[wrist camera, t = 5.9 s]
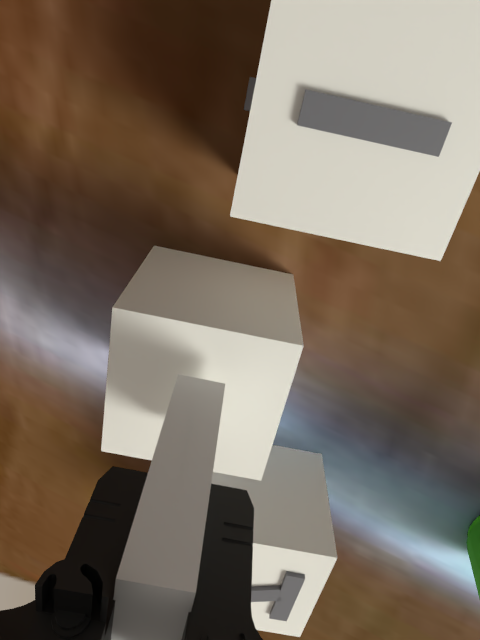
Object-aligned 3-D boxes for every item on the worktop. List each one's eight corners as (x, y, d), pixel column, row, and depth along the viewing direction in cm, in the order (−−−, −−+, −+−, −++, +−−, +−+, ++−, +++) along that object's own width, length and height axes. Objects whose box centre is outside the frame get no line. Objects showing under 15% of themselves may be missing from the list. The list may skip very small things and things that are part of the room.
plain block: (154, 244, 19) (112, 307, 14) (293, 273, 20) (303, 345, 14) (140, 361, 22) (100, 450, 17) (262, 385, 22) (261, 480, 17)
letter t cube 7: (206, 431, 24) (188, 535, 18) (321, 453, 24) (337, 562, 19) (189, 508, 27) (169, 619, 21) (293, 527, 27) (299, 641, 21)
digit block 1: (270, -10, 15) (273, -63, 10) (451, 33, 15) (555, 5, 10) (235, 175, 18) (222, 216, 12) (389, 208, 18) (443, 263, 13)
